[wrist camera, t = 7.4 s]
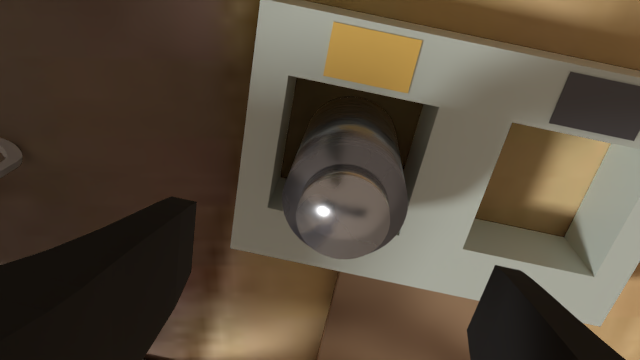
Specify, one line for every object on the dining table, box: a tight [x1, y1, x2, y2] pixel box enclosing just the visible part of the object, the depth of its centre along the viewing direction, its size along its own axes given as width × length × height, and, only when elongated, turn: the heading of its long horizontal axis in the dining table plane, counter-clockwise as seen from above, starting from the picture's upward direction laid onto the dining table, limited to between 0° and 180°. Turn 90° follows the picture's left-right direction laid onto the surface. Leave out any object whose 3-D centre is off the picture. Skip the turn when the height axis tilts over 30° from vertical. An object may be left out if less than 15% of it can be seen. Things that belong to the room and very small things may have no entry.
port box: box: [230, 0, 640, 326], centre depth 18 cm, size 10×16×3 cm, turn 79°
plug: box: [282, 96, 408, 259], centre depth 16 cm, size 4×4×7 cm
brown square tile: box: [316, 271, 479, 360], centre depth 23 cm, size 8×8×1 cm
